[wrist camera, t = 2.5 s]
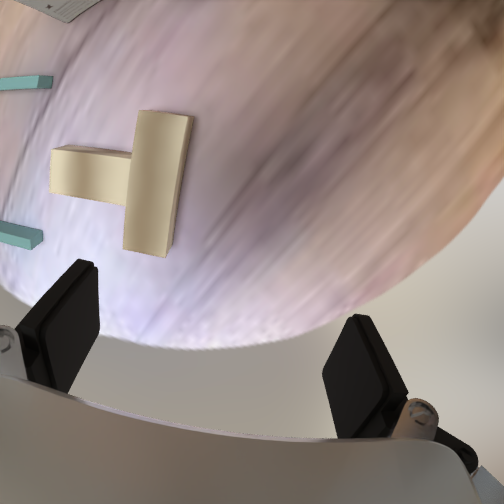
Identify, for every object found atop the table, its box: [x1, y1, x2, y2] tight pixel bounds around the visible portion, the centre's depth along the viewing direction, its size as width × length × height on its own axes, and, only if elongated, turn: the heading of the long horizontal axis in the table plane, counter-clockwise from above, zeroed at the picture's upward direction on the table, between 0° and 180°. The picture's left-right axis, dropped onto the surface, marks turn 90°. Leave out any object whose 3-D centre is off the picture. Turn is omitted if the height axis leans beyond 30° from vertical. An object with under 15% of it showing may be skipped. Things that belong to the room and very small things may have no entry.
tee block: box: [49, 110, 194, 258], centre depth 25 cm, size 12×12×3 cm
